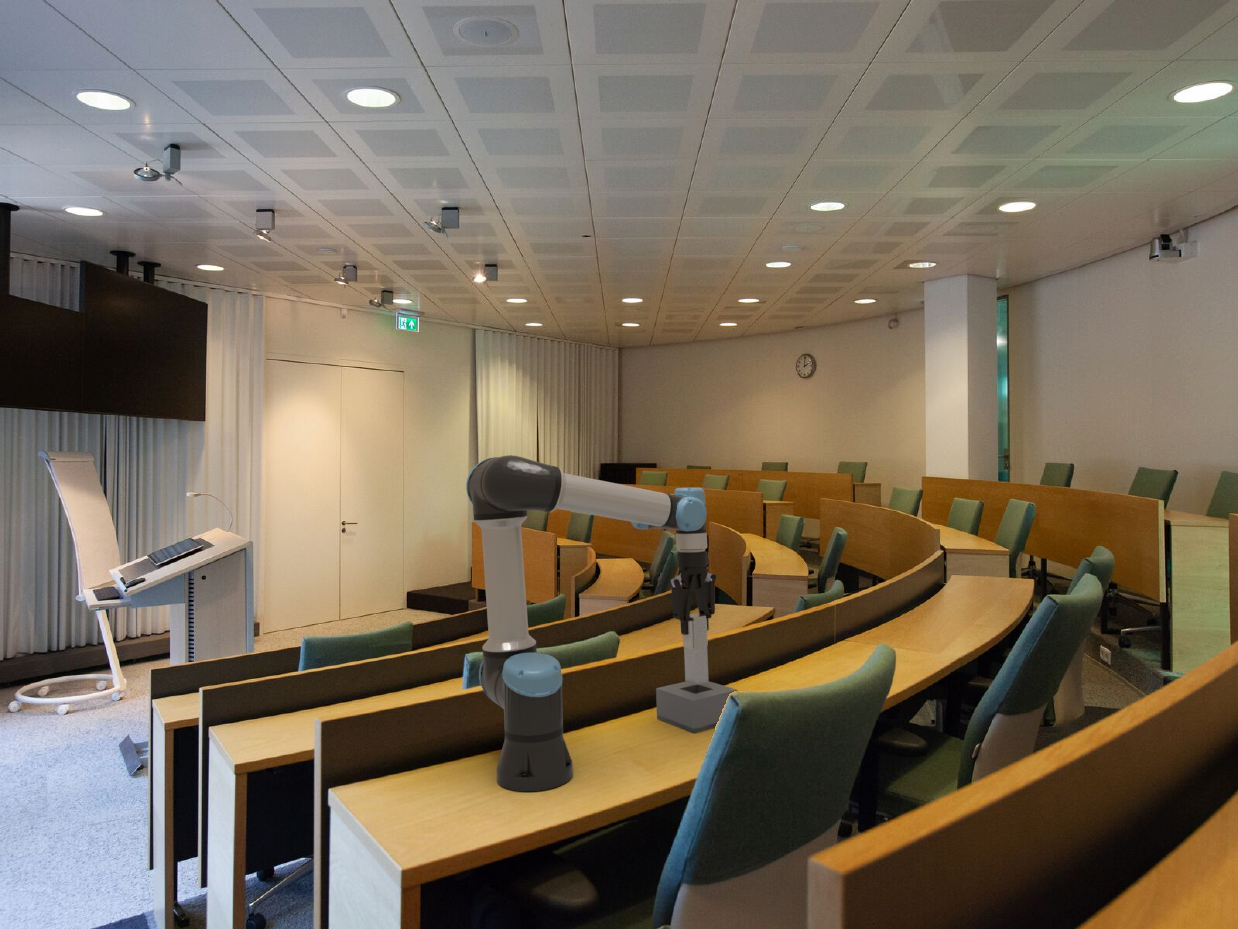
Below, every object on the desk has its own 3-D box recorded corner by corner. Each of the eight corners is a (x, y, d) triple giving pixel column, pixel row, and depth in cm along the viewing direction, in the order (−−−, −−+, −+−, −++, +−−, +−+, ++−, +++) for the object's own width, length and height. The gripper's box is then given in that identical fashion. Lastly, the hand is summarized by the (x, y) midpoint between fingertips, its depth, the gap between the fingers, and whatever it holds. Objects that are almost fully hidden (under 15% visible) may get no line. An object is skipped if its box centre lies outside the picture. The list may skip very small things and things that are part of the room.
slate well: (694, 733, 171) (693, 700, 171) (657, 719, 183) (656, 688, 183) (738, 721, 179) (737, 689, 179) (700, 708, 191) (699, 678, 191)
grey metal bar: (696, 684, 179) (693, 617, 179) (685, 681, 182) (682, 615, 182) (708, 681, 181) (705, 615, 181) (697, 678, 184) (695, 613, 185)
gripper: (707, 547, 190) (711, 638, 190) (655, 552, 180) (658, 649, 180) (728, 548, 184) (731, 643, 183) (674, 554, 174) (678, 654, 174)
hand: (695, 646), depth 182 cm, fingers closed on grey metal bar, 4 cm apart
